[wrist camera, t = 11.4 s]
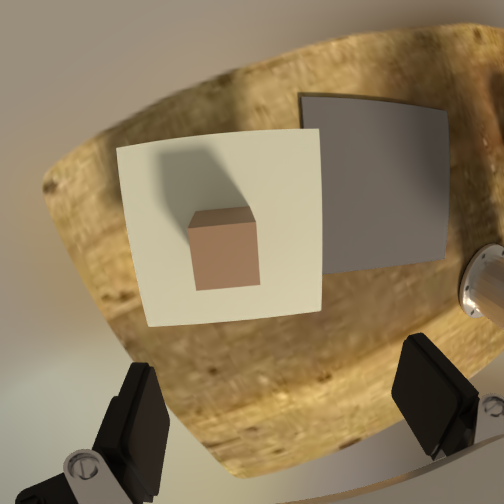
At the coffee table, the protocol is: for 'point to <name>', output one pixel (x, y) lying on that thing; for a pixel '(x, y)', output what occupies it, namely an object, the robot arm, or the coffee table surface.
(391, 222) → the mat
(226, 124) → the coffee table surface
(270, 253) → the lid sheet
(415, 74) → the coffee table surface
